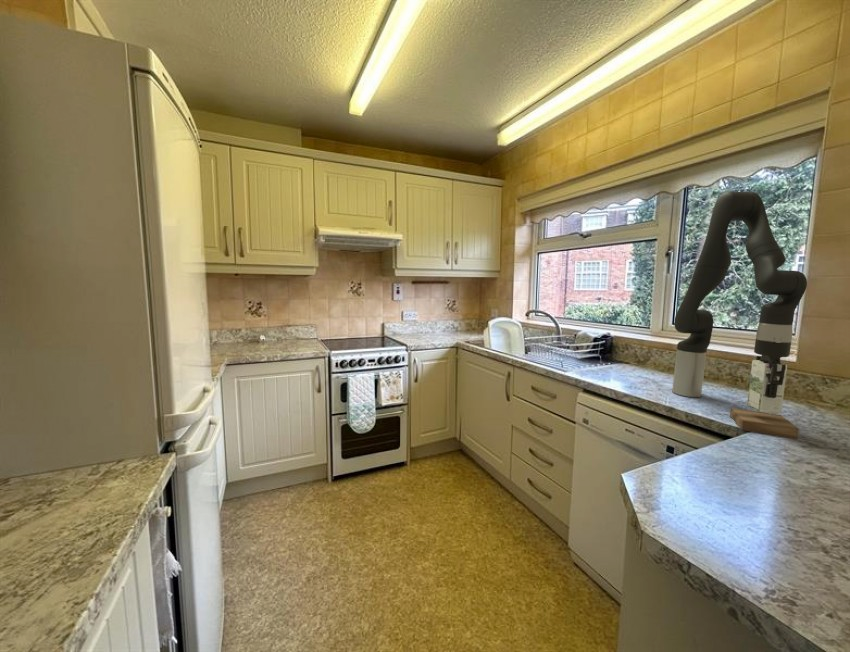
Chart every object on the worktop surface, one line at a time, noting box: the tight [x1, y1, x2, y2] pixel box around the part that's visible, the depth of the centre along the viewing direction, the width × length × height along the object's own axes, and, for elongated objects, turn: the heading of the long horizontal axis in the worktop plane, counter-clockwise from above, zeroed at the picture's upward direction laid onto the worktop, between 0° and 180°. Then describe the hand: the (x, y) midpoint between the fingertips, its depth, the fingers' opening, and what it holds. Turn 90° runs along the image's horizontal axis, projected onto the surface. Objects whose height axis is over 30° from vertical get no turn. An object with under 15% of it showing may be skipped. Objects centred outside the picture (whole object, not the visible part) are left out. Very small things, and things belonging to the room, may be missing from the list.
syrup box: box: [746, 359, 788, 414], centre depth 106 cm, size 6×6×14 cm
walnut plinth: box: [729, 407, 800, 440], centre depth 107 cm, size 12×12×3 cm
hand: (765, 393), depth 106 cm, fingers closed on syrup box, 6 cm apart
